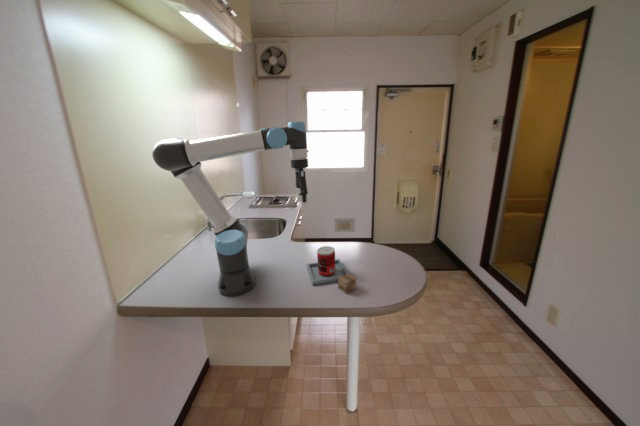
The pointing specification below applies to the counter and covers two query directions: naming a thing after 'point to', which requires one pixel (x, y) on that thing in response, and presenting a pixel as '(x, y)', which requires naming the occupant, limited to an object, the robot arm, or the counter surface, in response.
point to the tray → (319, 279)
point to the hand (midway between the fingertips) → (302, 205)
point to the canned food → (326, 261)
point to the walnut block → (347, 283)
